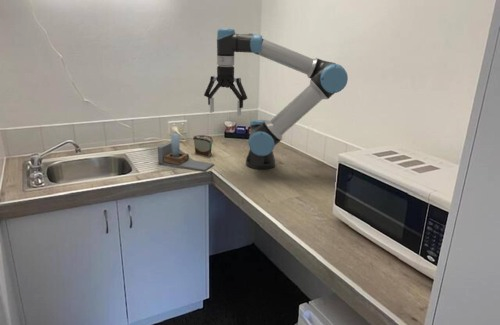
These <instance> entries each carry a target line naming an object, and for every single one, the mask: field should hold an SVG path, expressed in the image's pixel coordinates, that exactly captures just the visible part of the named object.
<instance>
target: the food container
mask: <svg viewBox="0 0 500 325" xmlns="http://www.w3.org/2000/svg"><path fill="white" fill-rule="evenodd" d="M192 141H193V144H194V151H195V152H194V154H195V155H198V156H201V157H206V158H210V157H211V156H212V146H213V143H214V139H213V137H212V136H210V135H208V134H207V135H206V134H205V135H204V134H198V135H193V137H192Z"/></svg>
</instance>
